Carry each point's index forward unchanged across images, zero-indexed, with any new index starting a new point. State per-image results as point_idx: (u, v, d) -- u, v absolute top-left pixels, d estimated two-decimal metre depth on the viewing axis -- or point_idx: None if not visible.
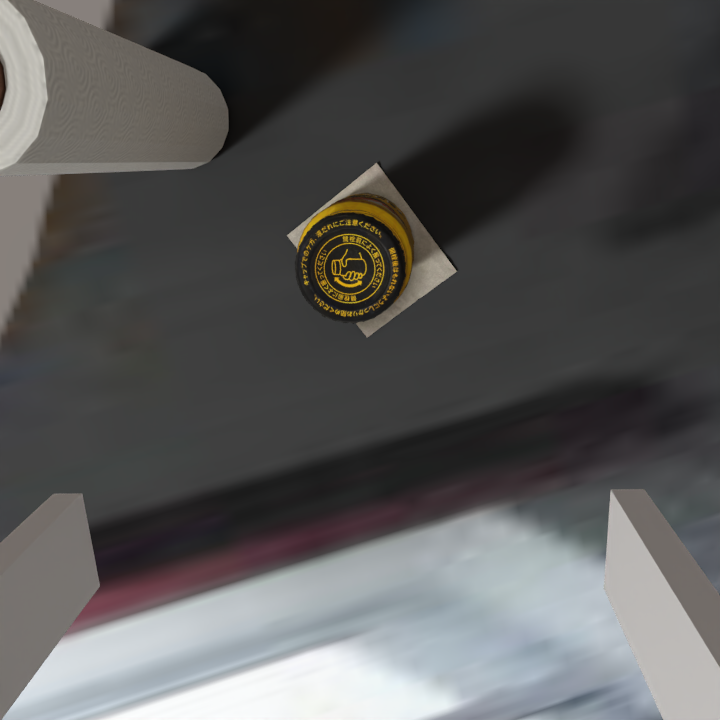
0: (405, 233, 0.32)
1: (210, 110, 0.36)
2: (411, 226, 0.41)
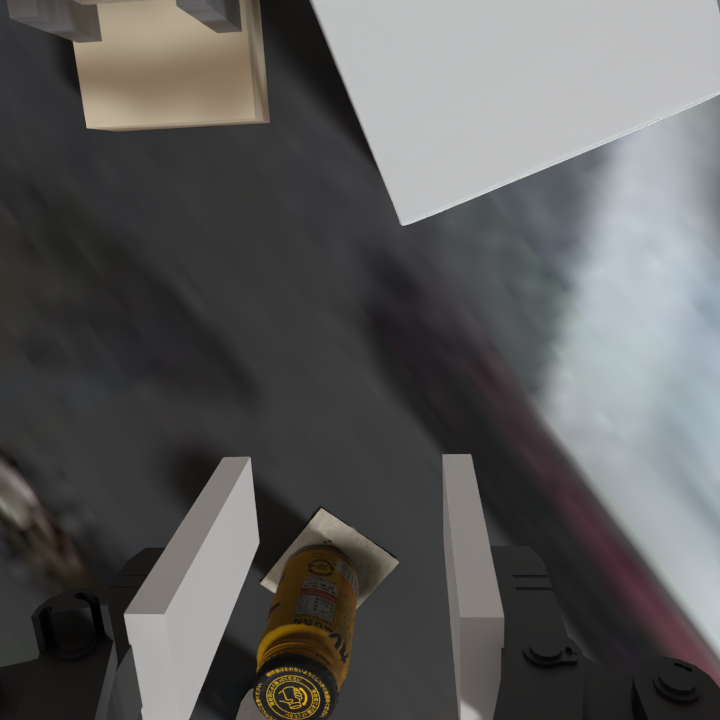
0: (268, 633, 0.41)
1: None
2: (298, 548, 0.50)
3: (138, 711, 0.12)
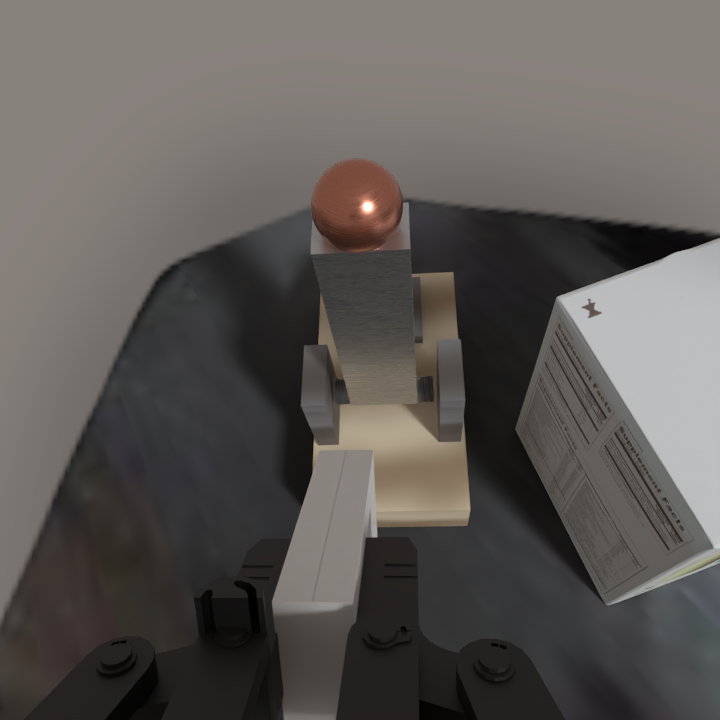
0: None
1: None
2: None
3: (281, 699, 0.12)
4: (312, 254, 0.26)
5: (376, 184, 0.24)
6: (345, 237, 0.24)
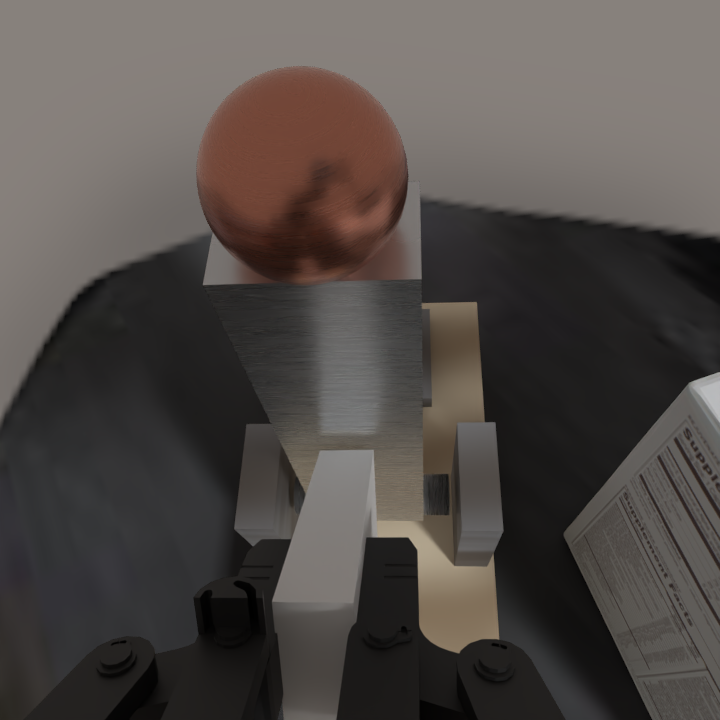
0: None
1: None
2: None
3: (281, 699, 0.12)
4: (207, 285, 0.12)
5: (343, 119, 0.10)
6: (268, 247, 0.10)
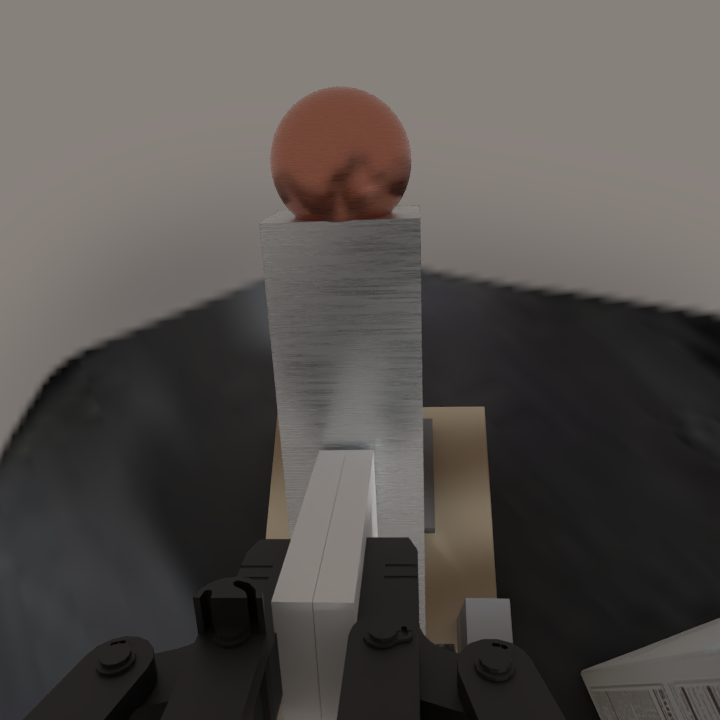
0: None
1: None
2: None
3: (280, 699, 0.12)
4: (262, 224, 0.16)
5: (371, 96, 0.16)
6: (315, 154, 0.15)
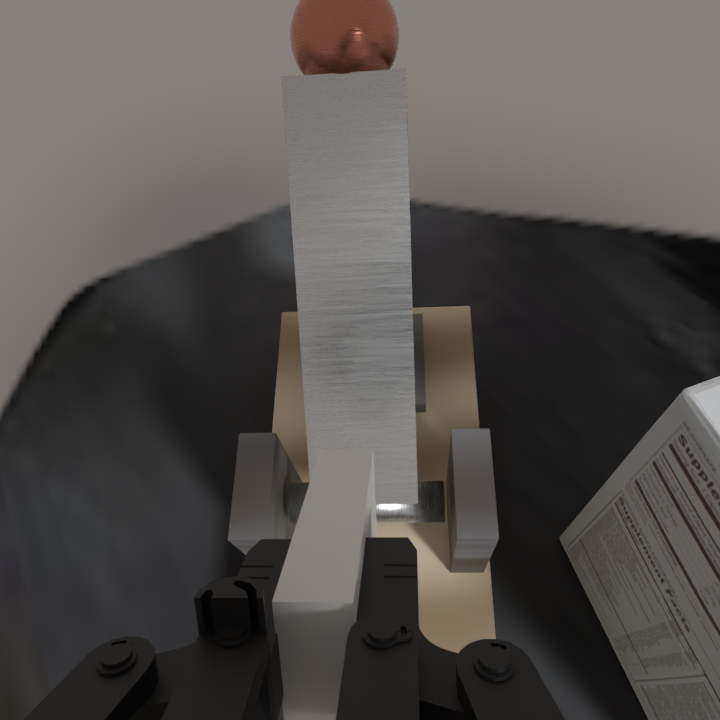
0: None
1: None
2: None
3: (281, 699, 0.12)
4: (283, 77, 0.21)
5: None
6: (325, 13, 0.20)
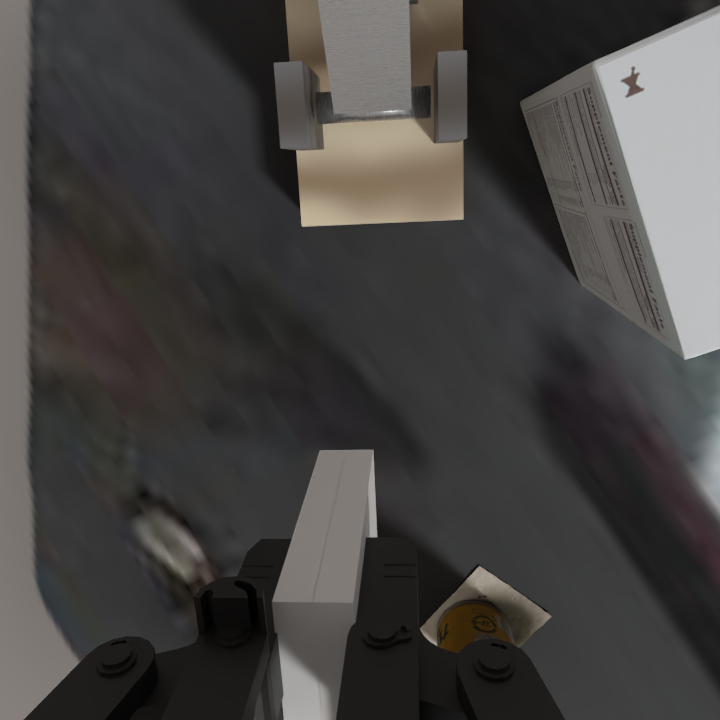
0: None
1: None
2: (453, 602, 0.52)
3: (281, 699, 0.12)
4: None
5: None
6: None
